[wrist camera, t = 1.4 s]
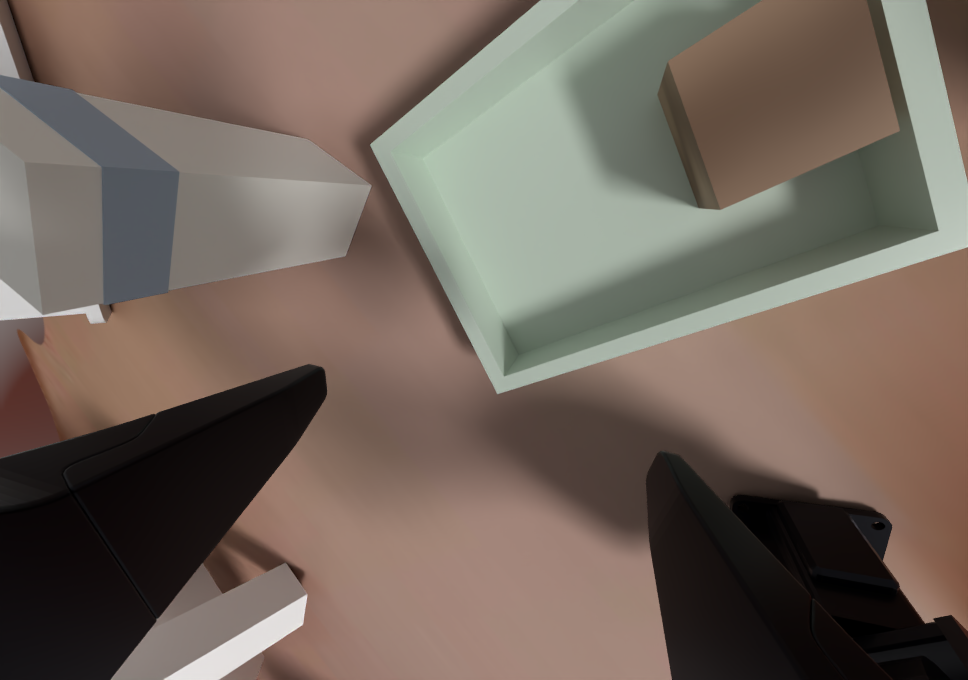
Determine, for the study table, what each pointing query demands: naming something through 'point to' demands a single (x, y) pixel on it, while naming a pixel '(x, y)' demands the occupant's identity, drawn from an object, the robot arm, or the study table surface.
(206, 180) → the carton
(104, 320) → the tablet stand
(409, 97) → the study table surface
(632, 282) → the pale green tray
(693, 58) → the walnut block
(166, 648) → the white geometric sculpture
